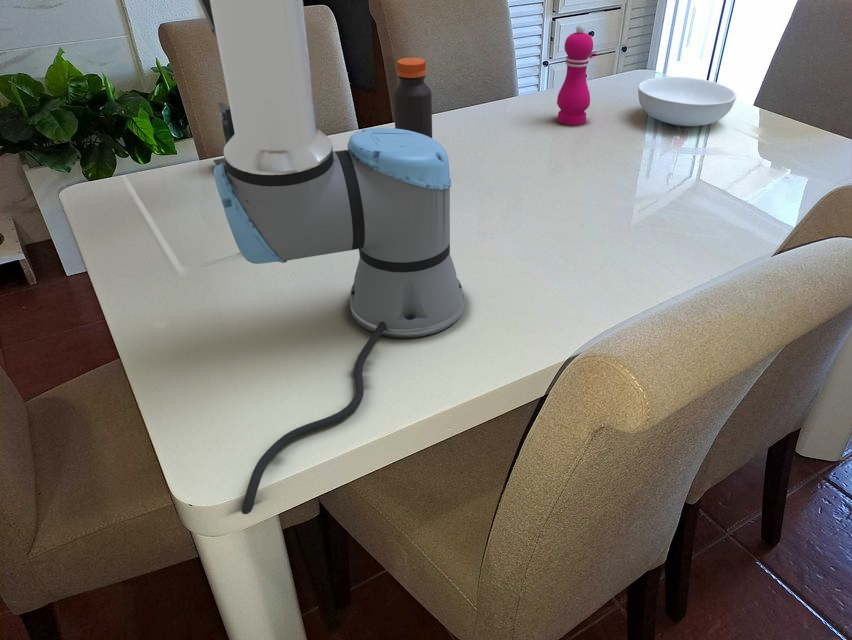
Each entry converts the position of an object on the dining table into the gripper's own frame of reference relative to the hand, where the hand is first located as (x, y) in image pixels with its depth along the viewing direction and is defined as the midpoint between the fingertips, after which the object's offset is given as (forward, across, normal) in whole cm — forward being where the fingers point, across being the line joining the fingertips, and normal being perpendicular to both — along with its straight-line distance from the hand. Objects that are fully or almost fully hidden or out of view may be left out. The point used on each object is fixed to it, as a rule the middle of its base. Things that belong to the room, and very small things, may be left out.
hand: (247, 82), depth 114 cm
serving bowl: (+19, -93, +10) cm, 95 cm away
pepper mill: (+19, -71, -2) cm, 74 cm away
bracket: (+19, 0, -10) cm, 21 cm away
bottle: (+19, -27, +6) cm, 34 cm away
